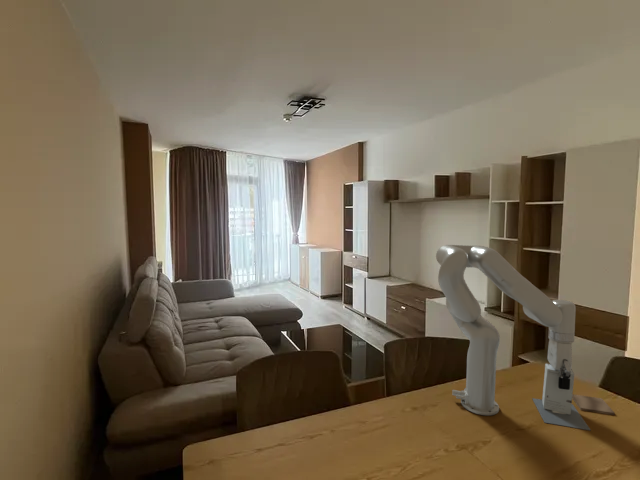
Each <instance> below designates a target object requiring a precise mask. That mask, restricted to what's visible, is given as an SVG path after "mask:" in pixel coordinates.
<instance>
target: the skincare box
mask: <svg viewBox="0 0 640 480" xmlns="http://www.w3.org/2000/svg"><path fill="white" fill-rule="evenodd" d="M562 369H565V368H562ZM564 372H565V371H562V374H563V373H564ZM570 374H571V376H570V389H569V390H565V389H559V388H558V382H559V377H560V374H559V370H558V369H557V370H555V369H554V368H553V367H552V365H551V364H550V363H545V364H544V374H543V375H544V377H543V378H544V379H543V388H542V398H541V400H542V402H543V407H544V409H547V410H552V411H557V412H561V413H565V414H569V415H570V414H571V404H572V403H573V402H572V401H573V399H572V394H574V393H573V391H574V385H575V384H574V382H575V373H574V371H573V369H572V368H571V373H570Z"/></svg>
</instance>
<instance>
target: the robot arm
mask: <svg viewBox="0 0 640 480" xmlns="http://www.w3.org/2000/svg"><path fill="white" fill-rule="evenodd" d="M435 257H436V261H437V263H438V265H440V266H439V269H438V273H437V274H438V276H437V279H438V284H439V288H440V290H441V292H442V293H443V294H444V295H443V296H445V305H446V309H447V311H448V312H449V315H451V317H452V319H453V320H454V322H455V323H456V325H457V326H458V328H459V330H460V331H461V332H462V334H463V335H464V336H465V337H466V338H467V339H468V340H469V344H468V345H469V347H468V349H467V354H466V355H467V356H466V379H465V380H466V382H465V388H463V389H464V390H457V389H452V390H451V391H452V393H451V394H452V396H454V397H455V398H456V399H460V404H461V406H462V407H463V408H464V409H465V410H467V411H469V412H471V413H473V414H476V415H480V416H494V415H496V414H498V413H499V411H500V406H499V404H498V402H497V401H495V398H496V397H495V396H496V393H495V392H496V377H497V376H496V375H497V357H498V350H499V347H500V342H501V340H500V339H501V337H500V333H499V330H498V328H497V327H495V325H493V323H492V322H490V321H488V320H487V319H485V318H484V317H483V316H482V309H481V305H480V303H479V301H478V300H477V298H476V297H475V295H474V294H473V293H472V291H471V290H470V288H469V286H468V284H467V283H466V280H465V278H464V277H465V276H464V274H465V270H466V269H467V268H475V269H477V270H479V271H480V272H481V273H483V275H485V277H487V278H488V280H490V281H491V282H492V283H493V284H494V285H495V286H496V287H497V288H498V289H499V290H500V291H501V293H503V294H505V295H506V296H508V297H509V298H511V299H513V300H514V301H516V302H517V303H519V304H520V305H522V311H523V313H524V315H526V316H527V317H528V318H529V319H531V320H533V321H534V322H535V321H536V322H537V323H539V324H541V325H542V326H544V327H546V328H547V327H548V335H547V336H548V337H547V338H548V339H549V340H548V347H547V361H548V364H551V365H552V367H553V368H554V369H555V370H557V369H558V370H559V374H560V377H559V382H558V388H559V389H565V390H569V389H570V376H571V374H570V373H571V369H572V365H573V348H572V347H573V345H572V344H574V343H575V335H576V334H575V332H576V331H575V330H576V304H575V303H574V302H572V301H571V300H565V299H553V300H552V299H551V298H550V297H549V296H547V295H546V293H544V292H543V291H542V290H540V289H539V288H538V287H536V286H535V285H534V284H532V282H531V281H529V280H528V279H527V278H526V277H525V276H523V275H522V274H521V273H520V272H519V271H518V270H516V268H514V267H513V265H512V264H511V263H510V262H508V260H507V259H506V258H505V257H503V255H501V254H500V253H499V252H498V251H497V250H496V249H494V248H493V247H489V246H484V245H463V244H461V245H460V244H445V245H442V246H440V247H439V248H438V249H437V251H436V253H435ZM562 368H565V369H562ZM562 371H565V372H564V373H563V374H562Z"/></svg>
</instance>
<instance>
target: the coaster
mask: <svg viewBox="0 0 640 480" xmlns="http://www.w3.org/2000/svg"><path fill="white" fill-rule="evenodd" d="M572 401H573V402H574V403H575V405H576V406H577V407H578V409H579V410H580V411H586V412H591V413H597V414H603V415H604V414H605V415H611V416H616V415H615V414H616V413H615V411H614V410H613V409H612V408H611V407H610V406H609V405H608V404H607V402H606V401H605V400H604V399H603V398H601V397H595V396H587V395H581V394H574V393H573V394H572Z"/></svg>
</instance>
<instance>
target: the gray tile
mask: <svg viewBox="0 0 640 480" xmlns="http://www.w3.org/2000/svg"><path fill="white" fill-rule="evenodd" d="M532 401H533V403H534V405H535V407H536V410H537V411H538V413H539V415H540V417H541V419H542V420H543V423H544V424H548V425H549V424H550V425H555V426H562V427H568V428H572V429H573V428H574V429H578V430H584V431H592V430H591V428H590V427H589V425H588V424H587V422H586V420H584V418H583V416H581V414H580V412H579V411H578V410H577V409H576V407H575V406H574V404H571V414H570V415H569V414H565V413H561V412H557V411H552V410H547V409H544V407H543V402H542V398H541V399H540V398H533V397H532Z"/></svg>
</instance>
